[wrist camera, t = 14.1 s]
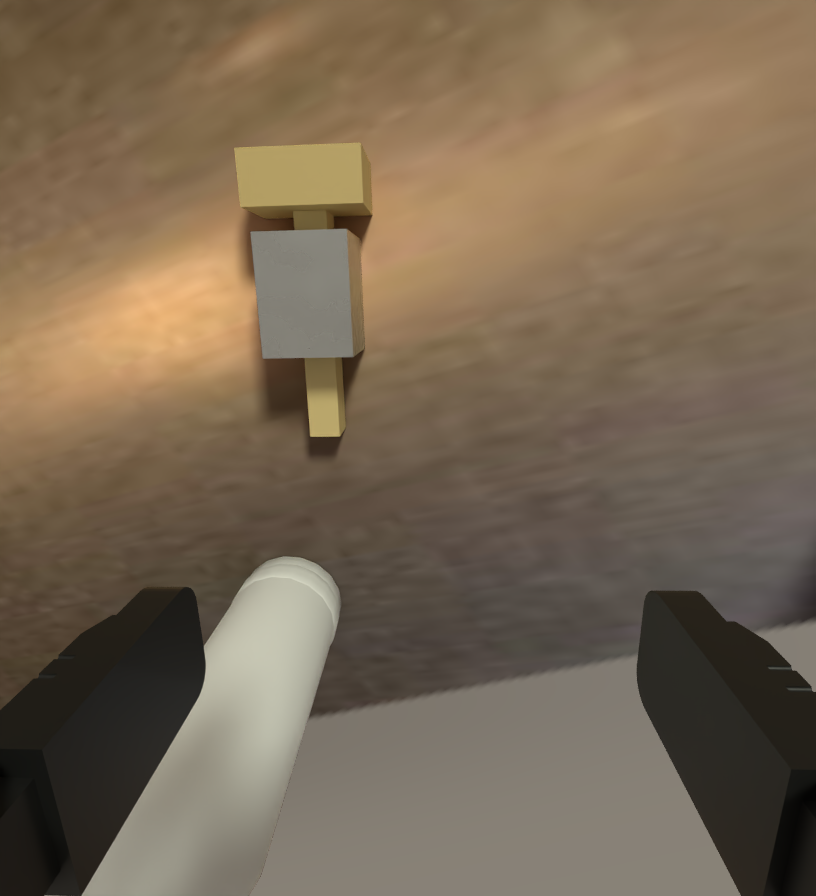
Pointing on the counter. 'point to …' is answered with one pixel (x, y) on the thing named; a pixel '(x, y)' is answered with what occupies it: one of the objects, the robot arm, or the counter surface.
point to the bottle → (231, 745)
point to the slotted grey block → (309, 293)
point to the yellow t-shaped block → (313, 208)
